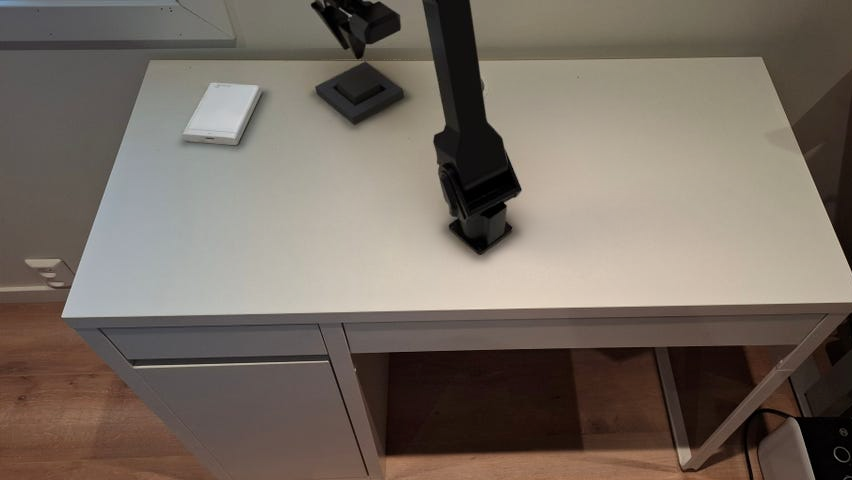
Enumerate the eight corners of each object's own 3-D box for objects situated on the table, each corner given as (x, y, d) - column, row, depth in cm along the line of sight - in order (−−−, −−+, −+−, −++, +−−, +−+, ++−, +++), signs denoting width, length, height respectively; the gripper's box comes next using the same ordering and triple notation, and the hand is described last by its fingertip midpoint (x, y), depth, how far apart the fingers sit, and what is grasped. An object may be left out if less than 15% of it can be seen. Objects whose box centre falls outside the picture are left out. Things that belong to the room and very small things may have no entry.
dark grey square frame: (404, 97, 99) (403, 89, 98) (354, 125, 95) (352, 117, 93) (366, 68, 103) (365, 61, 102) (316, 94, 99) (314, 86, 98)
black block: (381, 96, 99) (379, 84, 97) (356, 109, 97) (354, 97, 95) (363, 82, 101) (361, 69, 99) (338, 95, 99) (336, 82, 97)
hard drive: (210, 81, 97) (181, 133, 90) (259, 85, 97) (234, 137, 90) (213, 90, 99) (185, 141, 92) (262, 93, 99) (238, 145, 91)
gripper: (428, -43, 79) (432, 59, 92) (344, -93, 87) (358, 8, 99) (359, -13, 75) (374, 90, 87) (277, -69, 82) (302, 34, 95)
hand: (353, 53), depth 92 cm, fingers open, 3 cm apart
